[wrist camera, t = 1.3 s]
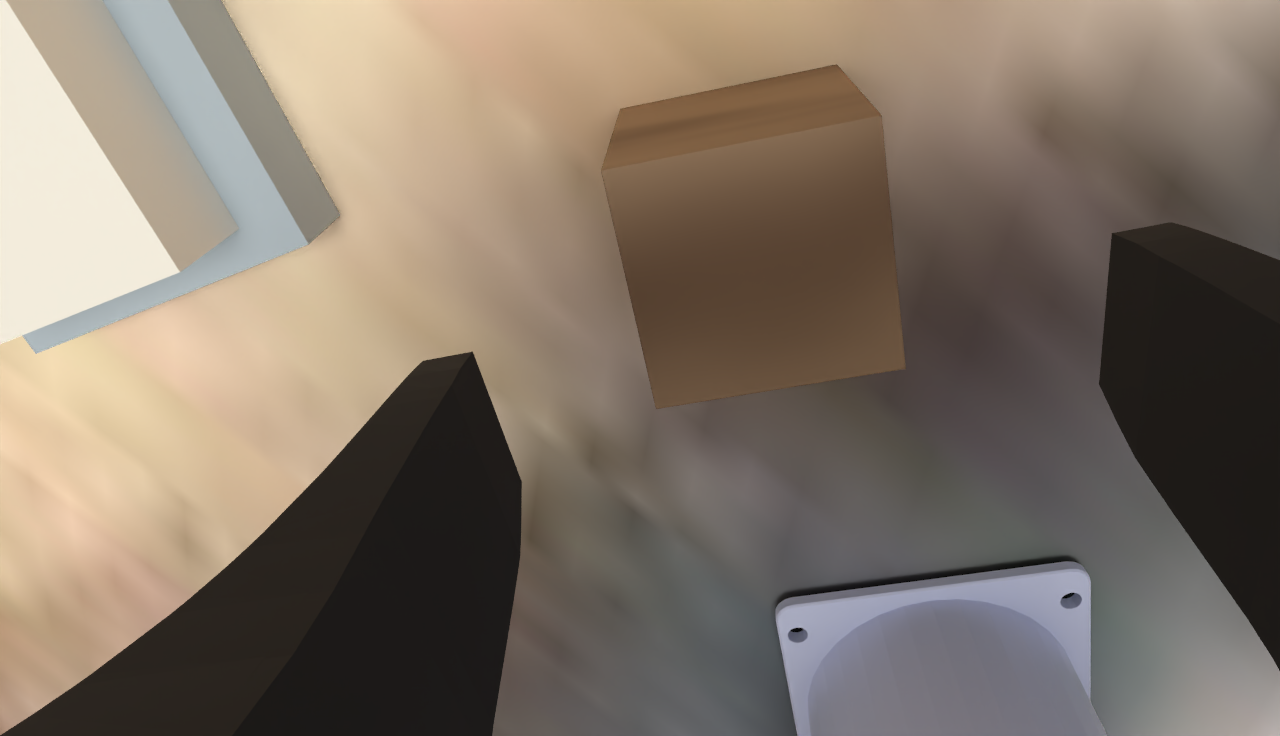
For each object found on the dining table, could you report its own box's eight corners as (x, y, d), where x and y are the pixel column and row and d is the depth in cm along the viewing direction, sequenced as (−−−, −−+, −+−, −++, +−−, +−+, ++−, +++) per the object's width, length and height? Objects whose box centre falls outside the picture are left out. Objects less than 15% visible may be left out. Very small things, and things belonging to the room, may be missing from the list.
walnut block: (859, 268, 21) (906, 368, 17) (662, 303, 22) (656, 408, 17) (836, 64, 19) (881, 115, 15) (620, 108, 20) (601, 170, 15)
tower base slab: (347, 208, 22) (308, 244, 19) (99, 309, 23) (35, 353, 21) (172, -111, 19) (102, -113, 16) (-99, 26, 20) (-197, 42, 18)
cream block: (239, 228, 19) (180, 271, 17) (42, 308, 20) (-38, 359, 18) (91, -18, 17) (2, -6, 15) (-120, 84, 18) (-232, 110, 16)
